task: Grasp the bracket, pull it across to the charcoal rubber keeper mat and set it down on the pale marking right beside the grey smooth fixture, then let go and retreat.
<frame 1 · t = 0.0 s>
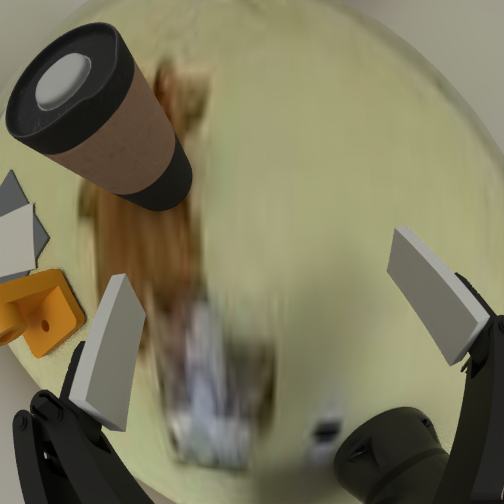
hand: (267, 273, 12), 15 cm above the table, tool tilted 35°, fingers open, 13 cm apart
keeper mat: (12, 268, 27), on the table
travel mug: (162, 180, 28), on the table
bracket: (54, 314, 27), on the table
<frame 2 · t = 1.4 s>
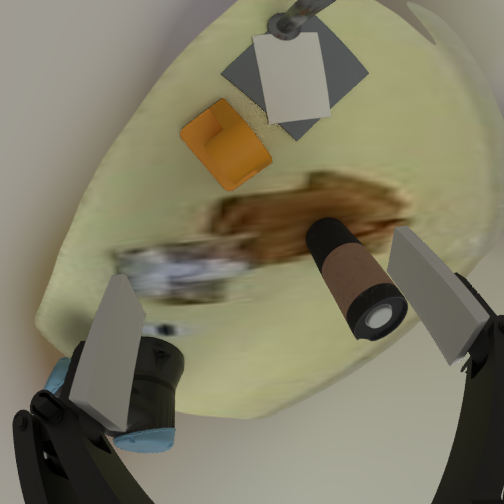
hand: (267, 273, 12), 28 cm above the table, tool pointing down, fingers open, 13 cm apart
keeper mat: (267, 80, 31), on the table
travel mug: (325, 235, 45), on the table
bracket: (224, 143, 35), on the table
grey smooth fixture: (284, 27, 26), resting on keeper mat
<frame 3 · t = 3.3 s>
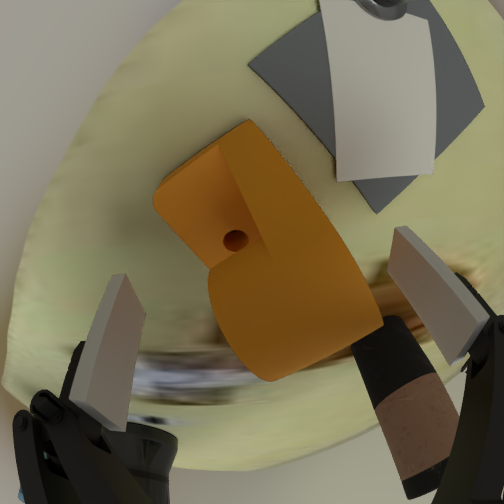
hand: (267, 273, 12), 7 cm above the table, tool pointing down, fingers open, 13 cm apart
keeper mat: (341, 89, 14), on the table
travel mug: (377, 335, 29), on the table
bracket: (246, 211, 19), on the table
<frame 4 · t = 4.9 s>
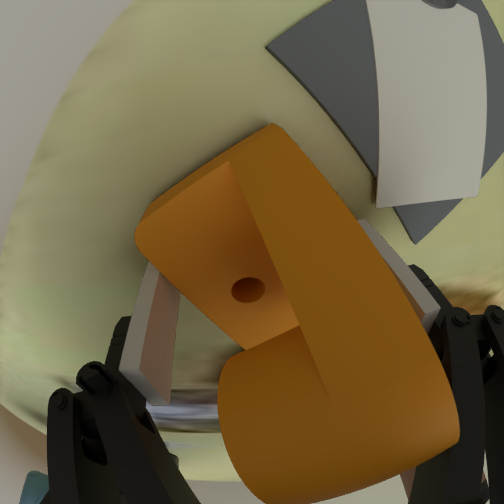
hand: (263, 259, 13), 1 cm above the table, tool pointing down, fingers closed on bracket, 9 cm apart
keeper mat: (386, 88, 10), on the table
travel mug: (395, 364, 25), on the table
bracket: (260, 245, 15), on the table, touching gripper
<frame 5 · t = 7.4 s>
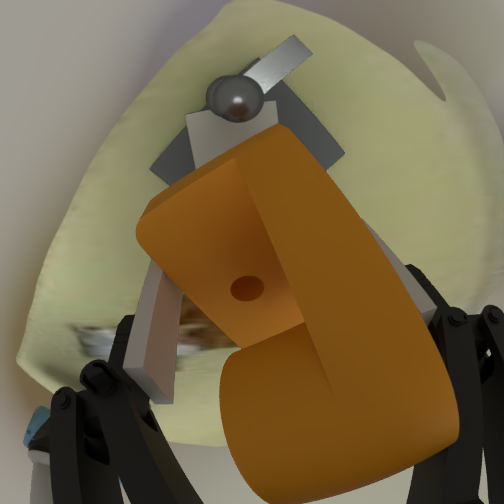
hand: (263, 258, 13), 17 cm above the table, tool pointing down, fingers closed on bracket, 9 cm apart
keeper mat: (206, 172, 28), on the table
bracket: (259, 244, 15), point 16 cm above the table, touching gripper
grey smooth fixture: (228, 96, 23), resting on keeper mat
when the fingers open (3 cm above the table, at t = 10.3 s): bracket drops 1 cm, resting on grey smooth fixture, keeper mat.
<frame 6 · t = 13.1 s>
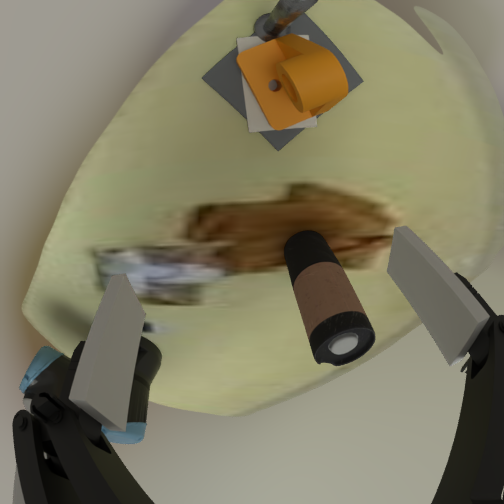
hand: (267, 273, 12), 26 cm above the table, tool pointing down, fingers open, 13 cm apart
keeper mat: (249, 85, 29), on the table
travel mug: (304, 248, 44), on the table
bracket: (278, 81, 29), point 1 cm above the table, touching grey smooth fixture, keeper mat
grey smooth fixture: (272, 28, 24), resting on keeper mat
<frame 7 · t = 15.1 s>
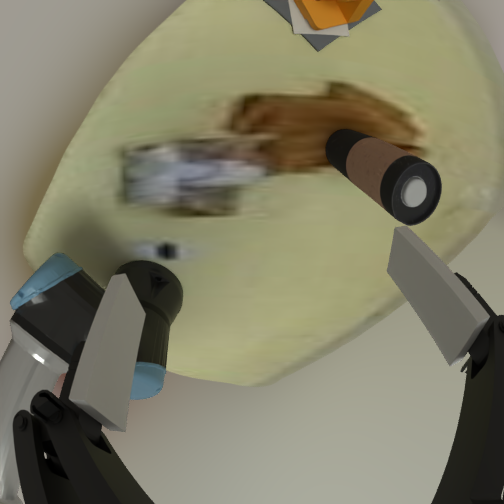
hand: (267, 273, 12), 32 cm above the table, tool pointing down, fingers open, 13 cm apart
keeper mat: (293, 0, 26), on the table
travel mug: (344, 149, 41), on the table
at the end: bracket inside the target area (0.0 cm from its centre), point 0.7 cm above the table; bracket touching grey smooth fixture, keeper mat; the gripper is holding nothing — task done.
